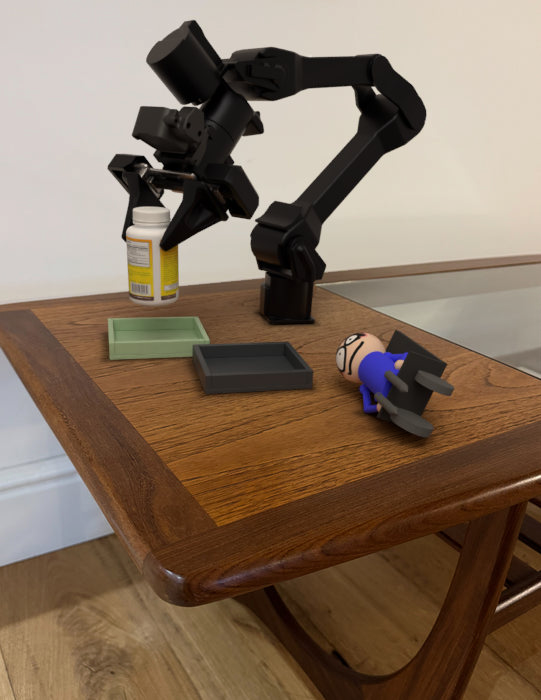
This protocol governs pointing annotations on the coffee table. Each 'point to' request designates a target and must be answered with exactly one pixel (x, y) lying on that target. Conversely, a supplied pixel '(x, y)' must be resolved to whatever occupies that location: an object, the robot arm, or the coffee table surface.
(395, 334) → the character figurine
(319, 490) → the coffee table surface
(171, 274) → the supplement bottle
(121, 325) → the sage tray
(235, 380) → the charcoal tray
